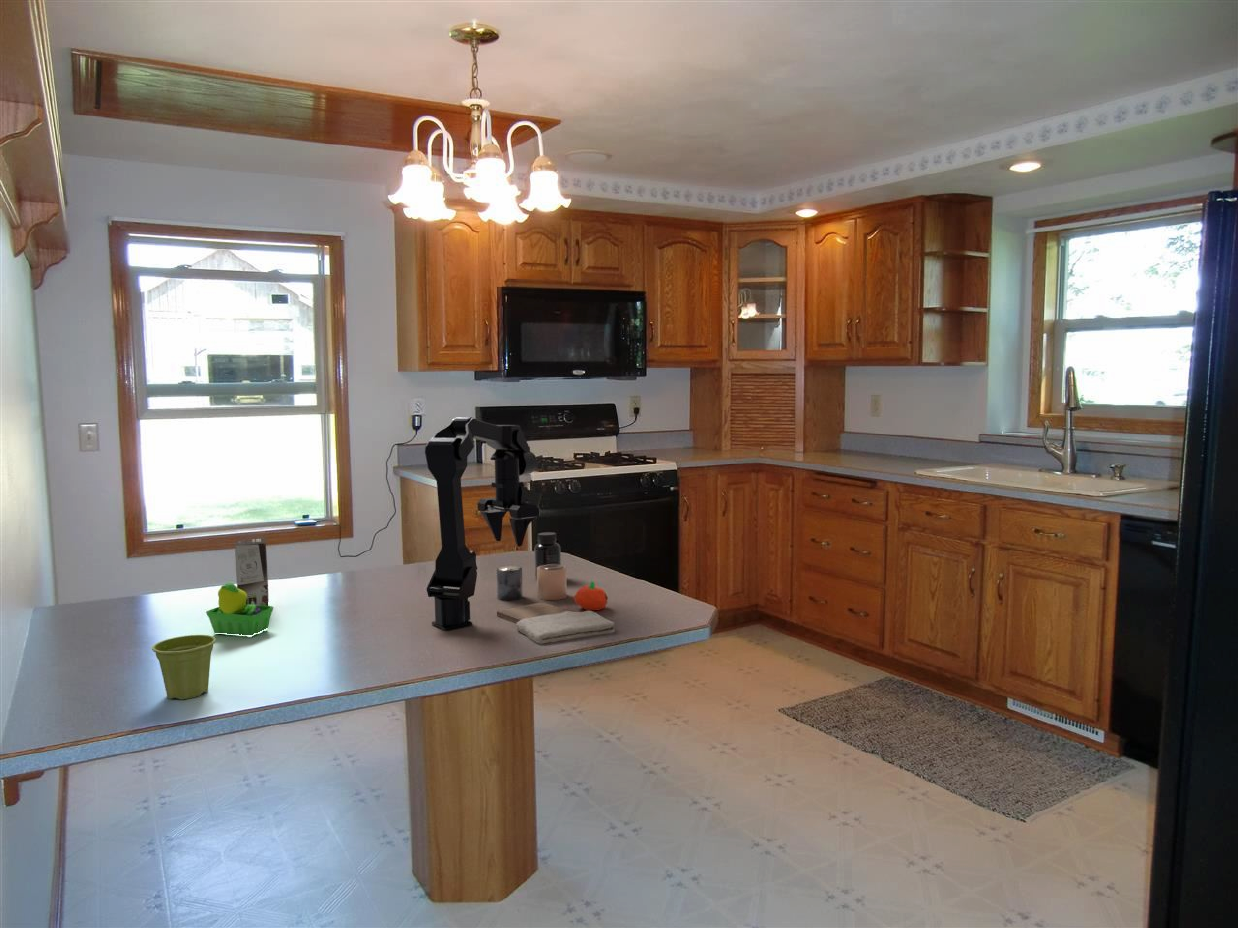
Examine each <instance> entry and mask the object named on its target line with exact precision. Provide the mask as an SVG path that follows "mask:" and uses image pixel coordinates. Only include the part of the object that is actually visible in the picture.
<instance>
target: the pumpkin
mask: <svg viewBox="0 0 1238 928" xmlns="http://www.w3.org/2000/svg"><path fill="white" fill-rule="evenodd" d="M608 599H609V598H608V595H607V593H606V591H605V590H603V589H602V588H601V587H596V586H595V582H594V581H591V583H590V585H584V586H581V587H580V588H579V589H578V590H577V592H576V593H575V594H574V597H573V600H574V602H575V604H576V605H578V606H579V607H580V608H582V609H583V610H585V611H599V610H602V609H604V608H605V607H606V606H607V605H608V601H609V600H608Z"/></svg>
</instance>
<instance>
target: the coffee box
mask: <svg viewBox="0 0 1238 928" xmlns="http://www.w3.org/2000/svg"><path fill="white" fill-rule="evenodd" d="M234 547H235V548H234V552H235V556H234V557H235V572H236V587H237V588H238V589H240V590H243V591H244V592H245V593H246V594H247V600H246V604H248V605H251V604H252V603H254V604H255V605H262V606H268V602H269V580H268V579H269V574H268V573H269V572H268V557H267V543H266V537H253V538H244V539H236V540H235V545H234Z"/></svg>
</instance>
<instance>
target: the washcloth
mask: <svg viewBox="0 0 1238 928" xmlns="http://www.w3.org/2000/svg"><path fill="white" fill-rule="evenodd" d="M515 624H516V625H515V628H516V630H517V631H519V632H520V633H522V635H526V636H527V637H528V638H529V639H530V640H531V641H533V642H535V643H536V644H540V645H543V644H548V643H554V642H560V641H568V640H574V639H578V638H586V637H590V636H599V635H605V634H613V633H615V632H616V630H615V628H614V627H615V621H611V620H609V619H607V618H605V617H603V616H602V615H600V614H598V613H597V612H595V611H593V610H585V611H571V612H570V610H568V611H565V612H563V613H558V614H551V615H543V616H538V617H533V618H525V619H522V620H520V621H519V622H517V623H515Z"/></svg>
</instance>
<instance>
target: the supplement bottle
mask: <svg viewBox="0 0 1238 928" xmlns="http://www.w3.org/2000/svg"><path fill="white" fill-rule="evenodd" d="M536 540H537V542H538V543H537V544H535V546H534V548H533V550H534V551H533V552H534V554H533V555H534V577H535V580H536V581H537V567H539V566H543V565H562V562H561V561H562V557H561V555H562V554H561V545H560V544H559V543H557V542H556V541H557V533H556V532H551V531H549V532H540V533H537V539H536Z"/></svg>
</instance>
